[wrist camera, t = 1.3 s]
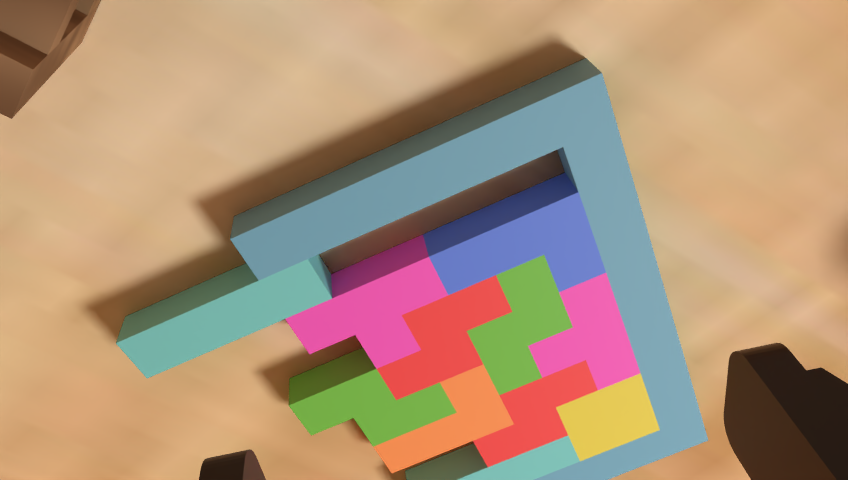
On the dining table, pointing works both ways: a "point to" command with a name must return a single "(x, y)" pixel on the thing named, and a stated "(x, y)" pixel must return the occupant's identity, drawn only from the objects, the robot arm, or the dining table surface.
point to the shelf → (37, 44)
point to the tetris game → (466, 301)
